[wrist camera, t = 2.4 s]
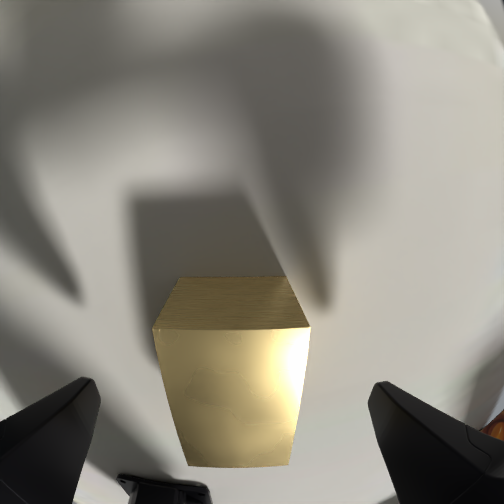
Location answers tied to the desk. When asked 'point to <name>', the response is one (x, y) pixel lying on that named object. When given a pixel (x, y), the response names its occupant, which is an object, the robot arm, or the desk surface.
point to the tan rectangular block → (233, 368)
